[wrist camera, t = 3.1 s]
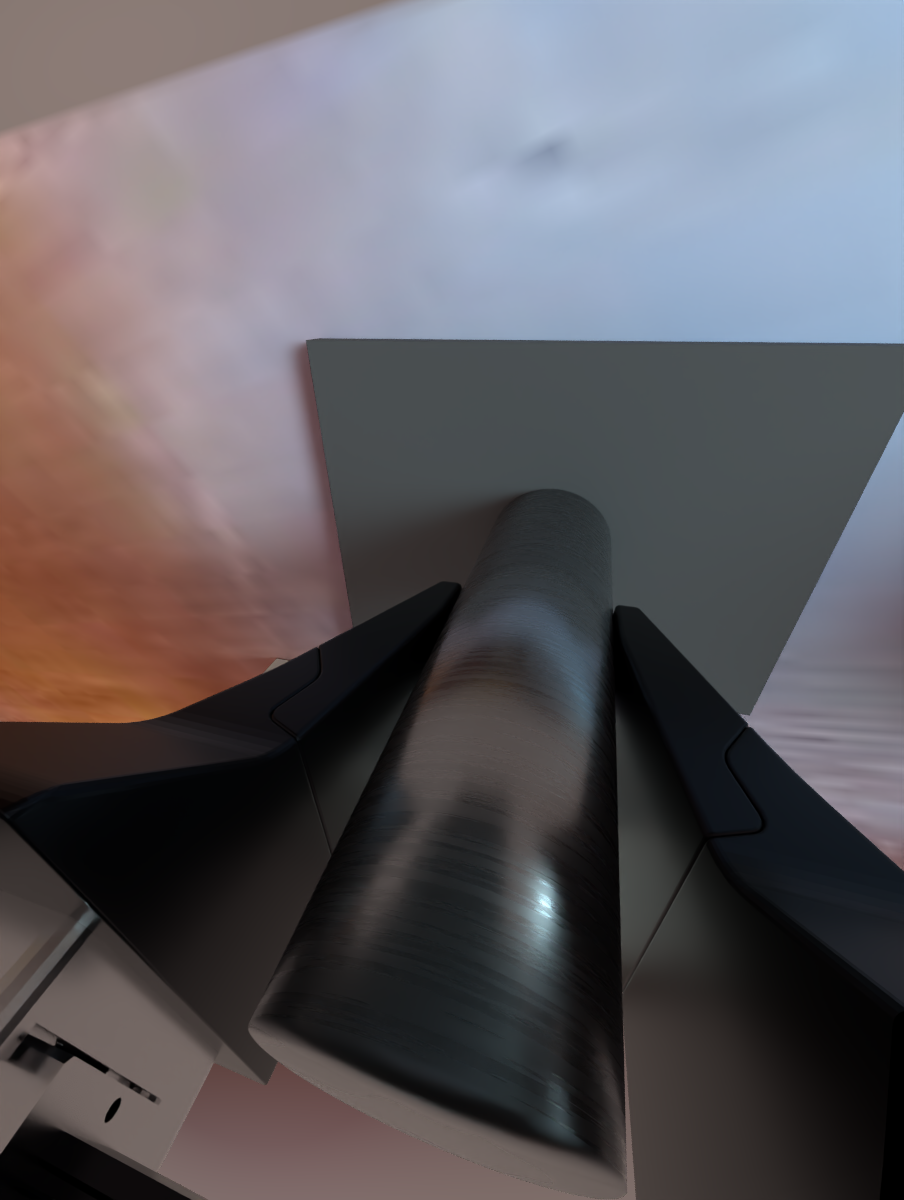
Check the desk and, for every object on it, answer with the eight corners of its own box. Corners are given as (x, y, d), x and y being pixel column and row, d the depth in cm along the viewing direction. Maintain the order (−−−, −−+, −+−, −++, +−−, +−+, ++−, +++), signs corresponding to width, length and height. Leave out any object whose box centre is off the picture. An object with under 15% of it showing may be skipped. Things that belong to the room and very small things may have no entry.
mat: (917, 344, 8) (937, 346, 8) (744, 699, 13) (749, 715, 13) (319, 338, 11) (305, 340, 10) (363, 634, 16) (356, 645, 15)
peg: (622, 494, 10) (678, 1165, 2) (600, 603, 12) (589, 1213, 4) (493, 483, 11) (198, 974, 3) (488, 587, 13) (290, 1083, 5)
